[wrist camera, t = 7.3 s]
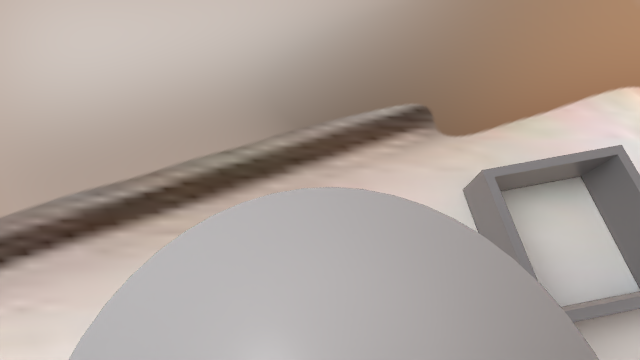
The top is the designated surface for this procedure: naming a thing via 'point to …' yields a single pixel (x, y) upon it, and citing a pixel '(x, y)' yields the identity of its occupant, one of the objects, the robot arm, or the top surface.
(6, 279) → the top surface
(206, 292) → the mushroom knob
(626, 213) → the collar
